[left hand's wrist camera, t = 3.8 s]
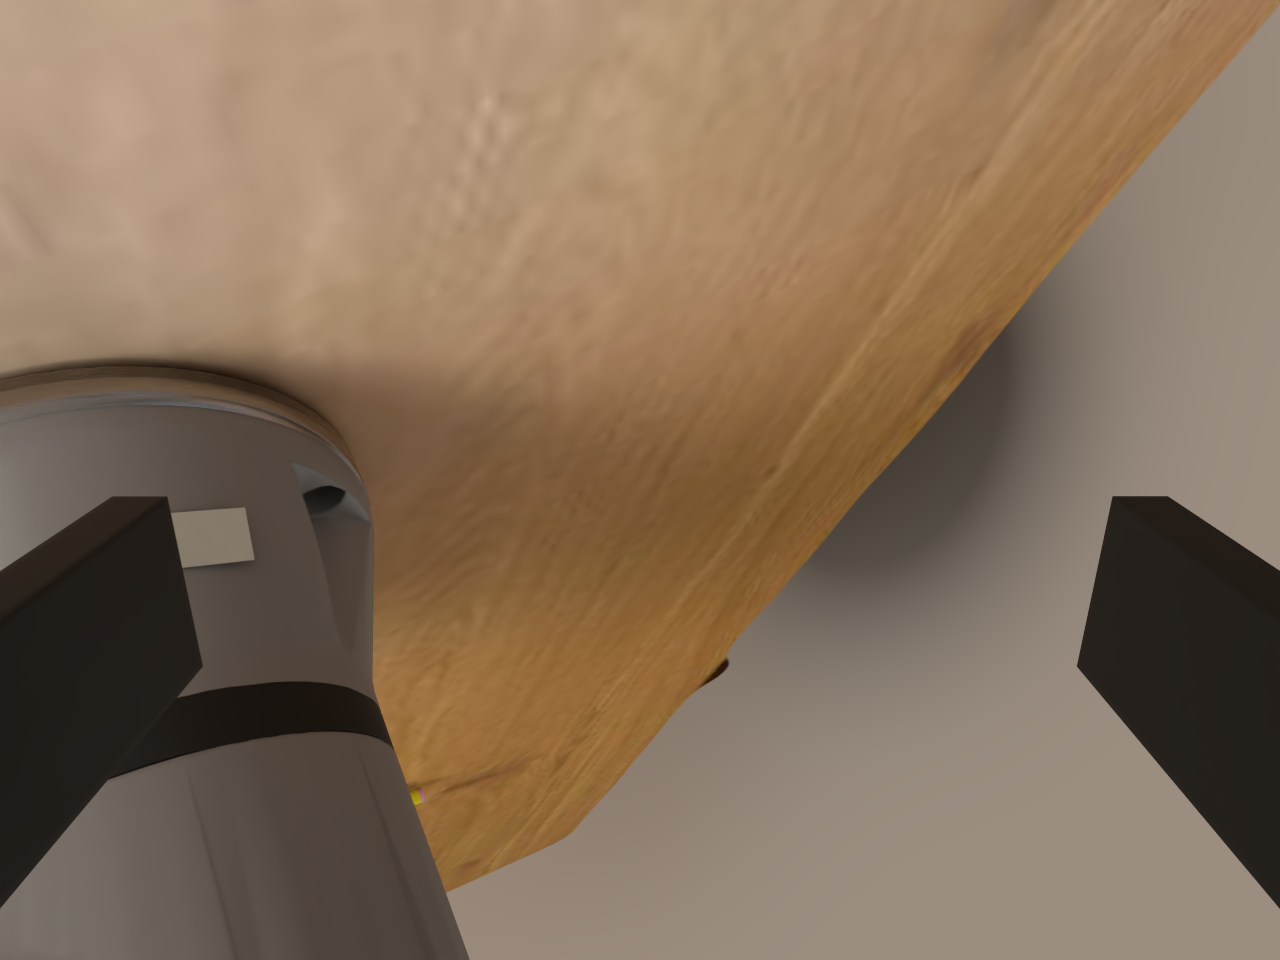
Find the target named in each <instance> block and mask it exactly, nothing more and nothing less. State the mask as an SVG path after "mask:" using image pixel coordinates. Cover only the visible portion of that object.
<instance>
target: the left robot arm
mask: <svg viewBox="0 0 1280 960" xmlns="http://www.w3.org/2000/svg"><path fill="white" fill-rule="evenodd" d="M373 559H374V531H373V522H372V517H371V512H370V507H369V499H368V496H367V493H366V489H365V486H364V484H363V481H362V479H361V476H360V474H359V471H358V469H357V466H356V464H355V461H354V458H353V456H352V454H351V452H350V450H349V448H348V446H347V445H346V443H345V442H344V441H343V439H342V438H341V436H340V435H339V434H338V433H337V432H336V431H335V430H334V429H333V428H332V427H331V425H330V424H329V423H328V422H326V421H325V420H324V419H323V418H321V417H320V416H319V415H317V414H316V413H315V412H314V411H312V410H310V409H309V408H307V407H306V406H304V405H302V404H301V403H299V402H297V401H295V400H293V399H291V398H289V397H287V396H285V395H283V394H281V393H279V392H276V391H274V390H271V389H268V388H265V387H263V386H260V385H257V384H254V383H251V382H247V381H243V380H240V379H236V378H232V377H228V376H223V375H218V374H213V373H208V372H202V371H194V370H186V369H178V368H167V367H148V366H102V367H88V368H73V369H64V370H56V371H48V372H41V373H33V374H28V375H23V376H17V377H12V378H7V379H2V380H0V960H470V959H469V957H468V954H467V951H466V948H465V945H464V943H463V940H462V937H461V934H460V932H459V929H458V926H457V923H456V920H455V917H454V915H453V912H452V909H451V906H450V904H449V901H448V898H447V895H446V892H445V890H444V887H443V884H442V881H441V878H440V876H439V873H438V870H437V867H436V864H435V862H434V859H433V856H432V853H431V851H430V848H429V845H428V842H427V839H426V837H425V834H424V831H423V828H422V825H421V823H420V820H419V817H418V814H417V811H416V809H415V806H414V803H413V800H412V798H411V795H410V792H409V789H408V786H407V784H406V781H405V778H404V775H403V772H402V770H401V767H400V764H399V761H398V758H397V756H396V753H395V751H394V748H393V745H392V742H391V739H390V737H389V734H388V731H387V728H386V725H385V722H384V719H383V716H382V714H381V710H380V707H379V704H378V701H377V698H376V695H375V692H374V686H373V680H372V669H373ZM1077 667H1078V668H1079V669H1080V671H1081V672H1082V673H1083V674H1084V676H1085V677H1086V678H1087V679H1088V680H1089V681H1090V683H1091V684H1092V685H1093V686H1094V687H1095V689H1096V690H1097V691H1098V692H1099V693H1100V695H1101V696H1102V697H1103V698H1104V699H1105V701H1106V702H1107V703H1108V704H1109V705H1110V707H1111V708H1112V709H1113V710H1114V711H1115V712H1116V714H1117V715H1118V716H1119V717H1120V718H1121V720H1122V721H1123V722H1124V723H1125V724H1126V726H1127V727H1128V728H1129V729H1130V730H1131V732H1132V733H1133V734H1134V735H1135V736H1136V738H1137V739H1138V740H1139V741H1140V742H1141V744H1142V745H1143V746H1144V747H1145V748H1146V749H1147V751H1148V752H1149V753H1150V754H1151V755H1152V757H1153V758H1154V759H1155V760H1156V761H1157V763H1158V764H1159V765H1160V766H1161V767H1162V769H1163V770H1164V771H1165V772H1166V773H1167V774H1168V776H1169V777H1170V778H1171V779H1172V780H1173V782H1174V783H1175V784H1176V785H1177V786H1178V788H1179V789H1180V790H1181V791H1182V792H1183V794H1184V795H1185V796H1186V797H1187V798H1188V800H1189V801H1190V802H1191V803H1192V804H1193V806H1194V807H1195V808H1196V809H1197V810H1198V812H1199V813H1200V814H1201V815H1202V816H1203V817H1204V819H1205V820H1206V821H1207V822H1208V823H1209V825H1210V826H1211V827H1212V828H1213V829H1214V831H1215V832H1216V833H1217V834H1218V835H1219V837H1220V838H1221V839H1222V840H1223V841H1224V843H1225V844H1226V845H1227V846H1228V847H1229V849H1230V850H1231V851H1232V852H1233V853H1234V855H1235V856H1236V857H1237V858H1238V859H1239V861H1240V862H1241V863H1242V864H1243V865H1244V866H1245V868H1246V869H1247V870H1248V871H1249V872H1250V874H1251V875H1252V876H1253V877H1254V878H1255V880H1256V881H1257V882H1258V883H1259V884H1260V886H1261V887H1262V888H1263V889H1264V890H1265V892H1266V893H1267V894H1268V895H1269V896H1270V897H1271V899H1272V900H1273V901H1274V902H1275V903H1276V905H1277V906H1278V907H1279V908H1280V571H1279V570H1278V569H1276V568H1275V567H1273V566H1272V565H1270V564H1269V563H1267V562H1266V561H1264V560H1263V559H1261V558H1260V557H1258V556H1257V555H1255V554H1254V553H1252V552H1251V551H1249V550H1248V549H1246V548H1245V547H1243V546H1242V545H1240V544H1239V543H1237V542H1236V541H1234V540H1233V539H1231V538H1229V537H1228V536H1227V535H1225V534H1224V533H1222V532H1221V531H1219V530H1218V529H1216V528H1215V527H1213V526H1212V525H1210V524H1209V523H1207V522H1205V521H1204V520H1203V519H1201V518H1200V517H1198V516H1197V515H1195V514H1193V513H1192V512H1191V511H1189V510H1187V509H1186V508H1184V507H1183V506H1181V505H1180V504H1179V503H1177V502H1176V501H1174V500H1173V499H1171V498H1170V497H1168V496H1113V497H1112V502H1111V507H1110V512H1109V516H1108V521H1107V526H1106V530H1105V535H1104V540H1103V545H1102V550H1101V554H1100V559H1099V564H1098V569H1097V573H1096V578H1095V583H1094V588H1093V593H1092V597H1091V602H1090V607H1089V611H1088V616H1087V621H1086V626H1085V630H1084V635H1083V640H1082V645H1081V650H1080V654H1079V659H1078V664H1077Z"/></svg>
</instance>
